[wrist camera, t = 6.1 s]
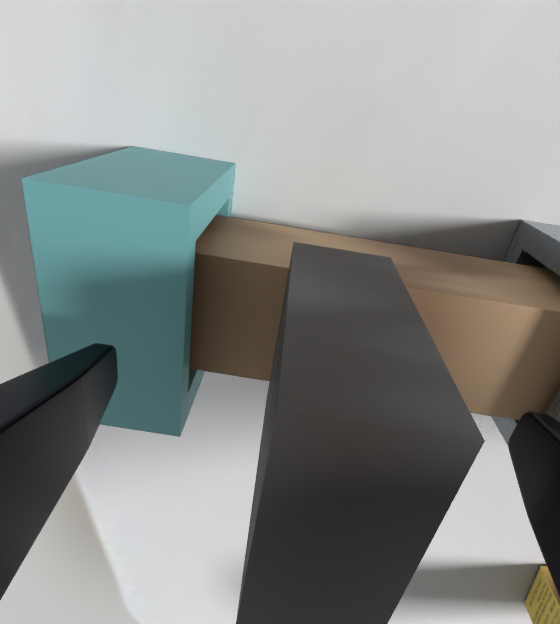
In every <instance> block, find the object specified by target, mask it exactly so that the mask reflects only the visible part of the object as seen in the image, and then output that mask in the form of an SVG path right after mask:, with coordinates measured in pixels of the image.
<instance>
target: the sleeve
mask: <svg viewBox="0 0 560 624" xmlns="http://www.w3.org/2000/svg"><path fill="white" fill-rule="evenodd" d="M503 262H509V263H515V264H521V265H527V266H533V267H539V268H546V269H550V270H552V271H553V272H555V273H556V274H557V275H559V276H560V226H556V225H550V224H544V223H538V222H531V221H525V220H521V222H520V225H519V227H518V229H517V232H516V234H515V236H514V238H513V241H512V243H511V245H510V248H509V250H508V252H507V254H506V257H505V259H504V261H503ZM545 414H548V415H550V416H551V417H553V418H554V419H556V420H557V421H559V422H560V389H559V391H558V393H557V394H556V396H555V398H554V399H553V401H552V403H551V404H550V406H549V408H548V409H547V411H546V413H545ZM491 417H492V418H493V420H494V422H495V424H496V425H497V427H498V429H499V431H500V432H501V434H502V436H503V438H504V439H505V441H506V443H507V445H508V442H509V438H510V436H511V434H512V432H513V430H514V429H515V427H516V425H517V423H518V422H519V420H514V419H508V418H501V417H495V416H491Z"/></svg>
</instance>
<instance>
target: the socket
mask: <svg viewBox="0 0 560 624" xmlns="http://www.w3.org/2000/svg"><path fill="white" fill-rule="evenodd" d="M234 173H235V163H230V162H224V161H218V160H212V159H206V158H200V157H194V156H188V155H182V154H176V153H170V152H164V151H158V150H152V149H146V148H140V147H133V146H132V147H128V148H125V149H121V150H118V151H114V152H111V153H107V154H104V155H100V156H97V157H93V158H90V159H86V160H83V161H79V162H76V163H72V164H69V165H65V166H62V167H58V168H55V169H51V170H48V171H44V172H41V173H37V174H34V175H30V176H27V177H23V178H21V179H22V186H23V193H24V200H25V206H26V213H27V220H28V226H29V233H30V240H31V246H32V253H33V260H34V266H35V273H36V280H37V286H38V293H39V300H40V306H41V313H42V320H43V326H44V333H45V340H46V346H47V353H48V360H49V363H50V362H52V361H55V360H57V359H59V358H62V357H64V356H66V355H69V354H71V353H73V352H75V351H78V350H80V349H82V348H85V347H87V346H89V345H92V344H94V343H101V344H107V345H113V346H114V347H115V348H116V351H117V368H118V380H117V385H116V388H115V390H114V392H113V395H112V397H111V399H110V401H109V404H108V406H107V408H106V411H105V413H104V415H103V417H102V420H101V422H100V424H102V425H108V426H115V427H121V428H128V429H134V430H141V431H147V432H154V433H160V434H166V435H173V436H179V437H180V435H181V433H182V430H183V427H184V425H185V422H186V419H187V417H188V414H189V411H190V409H191V406H192V403H193V401H194V398H195V395H196V393H197V390H198V387H199V385H200V382H201V379H202V377H203V374H204V372H205V371H202V370H196V369H189V361H190V342H191V322H192V303H193V283H194V264H195V244H196V240H197V239H198V237H199V236H200V235H201V233H202V232H203V231H204V230H205V228H206V227H207V226H208V224H209V223H210V222H211V221H212V219H213V218H214V217H215V215H221V216H227V217H231V206H232V195H233V184H234Z"/></svg>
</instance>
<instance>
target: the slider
mask: <svg viewBox="0 0 560 624" xmlns="http://www.w3.org/2000/svg"><path fill="white" fill-rule="evenodd" d="M189 369H196V370H202V371H208V372H215V373H221V374H227V375H234V376H240V377H247V378H253V379H259V380H266V381H270V383H269V389H268V395H267V401H266V408H265V416H264V423H263V430H262V438H261V445H260V452H259V460H258V467H257V474H256V482H255V489H254V496H253V504H252V511H251V518H250V526H249V533H248V540H247V548H246V555H245V562H244V570H243V577H242V585H241V592H240V599H239V607H238V614H237V621H236V624H387V623H388V621H389V619H390V618H391V616H392V614H393V612H394V610H395V608H396V606H397V604H398V603H399V601H400V599H401V597H402V595H403V593H404V591H405V589H406V588H407V586H408V584H409V582H410V580H411V578H412V576H413V574H414V573H415V571H416V569H417V567H418V565H419V563H420V561H421V559H422V558H423V556H424V554H425V552H426V550H427V548H428V546H429V544H430V543H431V541H432V539H433V537H434V535H435V533H436V531H437V529H438V527H439V526H440V524H441V522H442V520H443V518H444V516H445V514H446V512H447V511H448V509H449V507H450V505H451V503H452V501H453V499H454V497H455V496H456V494H457V492H458V490H459V488H460V486H461V484H462V482H463V481H464V479H465V477H466V475H467V473H468V471H469V469H470V467H471V466H472V464H473V462H474V460H475V458H476V456H477V454H478V452H479V451H480V449H481V447H482V445H483V443H484V439H483V437H482V435H481V433H480V431H479V429H478V427H477V425H476V423H475V421H474V420H473V418H472V416H471V414H470V413H476V414H482V415H489V416H495V417H501V418H508V419H514V420H520V418H521V416H522V415H523V414H524V413H525V412H528V411H532V412H539V413H546V411H547V409H548V408H549V406H550V404H551V403H552V401H553V399H554V398H555V396H556V394H557V393H558V391H559V389H560V276H559V275H557V274H556V273H555V272H553V271H552V270H550V269H546V268H539V267H533V266H527V265H521V264H515V263H509V262H503V261H497V260H490V259H484V258H478V257H472V256H466V255H460V254H454V253H448V252H441V251H435V250H429V249H423V248H417V247H411V246H405V245H399V244H392V243H386V242H380V241H374V240H368V239H362V238H356V237H349V236H343V235H337V234H331V233H325V232H319V231H313V230H307V229H300V228H294V227H288V226H282V225H276V224H270V223H264V222H258V221H251V220H245V219H239V218H233V217H227V216H221V215H215V217H214V218H213V219H212V221H211V222H210V223H209V224H208V226H207V227H206V228H205V230H204V231H203V232H202V233H201V235H200V236H199V237H198V239H197V240H196V244H195V264H194V283H193V303H192V322H191V342H190V361H189Z"/></svg>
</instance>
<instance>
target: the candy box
mask: <svg viewBox="0 0 560 624" xmlns="http://www.w3.org/2000/svg"><path fill="white" fill-rule="evenodd" d="M524 604H525V606H526V609H527V611H528V613H529V616H530V618H531V620H532V623H533V624H560V598H559V596H558V593H557V590H556V588H555V585H554V583H553V580H552V578H551V575H550V572H549V570H548V567H547V566H540V568H539V570H538V572H537V575H536V576H535V579H534V581H533V583H532V585H531V588H530V590H529V592H528V594H527V596H526V599H525V602H524Z"/></svg>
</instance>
